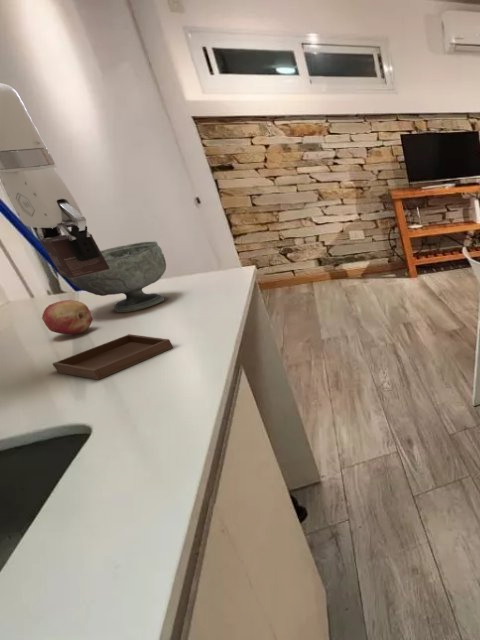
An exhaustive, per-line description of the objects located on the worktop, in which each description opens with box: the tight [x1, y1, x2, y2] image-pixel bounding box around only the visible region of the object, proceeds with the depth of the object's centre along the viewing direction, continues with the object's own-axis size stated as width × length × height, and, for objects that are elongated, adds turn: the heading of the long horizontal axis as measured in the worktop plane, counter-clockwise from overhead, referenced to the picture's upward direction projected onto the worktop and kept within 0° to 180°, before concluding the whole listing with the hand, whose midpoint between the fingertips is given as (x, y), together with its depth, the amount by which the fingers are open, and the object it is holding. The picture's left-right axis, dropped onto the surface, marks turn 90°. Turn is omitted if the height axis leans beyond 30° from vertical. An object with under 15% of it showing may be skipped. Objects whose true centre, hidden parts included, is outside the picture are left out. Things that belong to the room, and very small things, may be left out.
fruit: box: [41, 299, 93, 336], centre depth 110 cm, size 8×8×8 cm
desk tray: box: [51, 333, 174, 381], centre depth 96 cm, size 13×13×2 cm
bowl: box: [66, 241, 167, 313], centre depth 123 cm, size 20×19×15 cm
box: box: [39, 233, 110, 279], centre depth 92 cm, size 6×6×7 cm
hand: (77, 257), depth 92 cm, fingers closed on box, 6 cm apart
